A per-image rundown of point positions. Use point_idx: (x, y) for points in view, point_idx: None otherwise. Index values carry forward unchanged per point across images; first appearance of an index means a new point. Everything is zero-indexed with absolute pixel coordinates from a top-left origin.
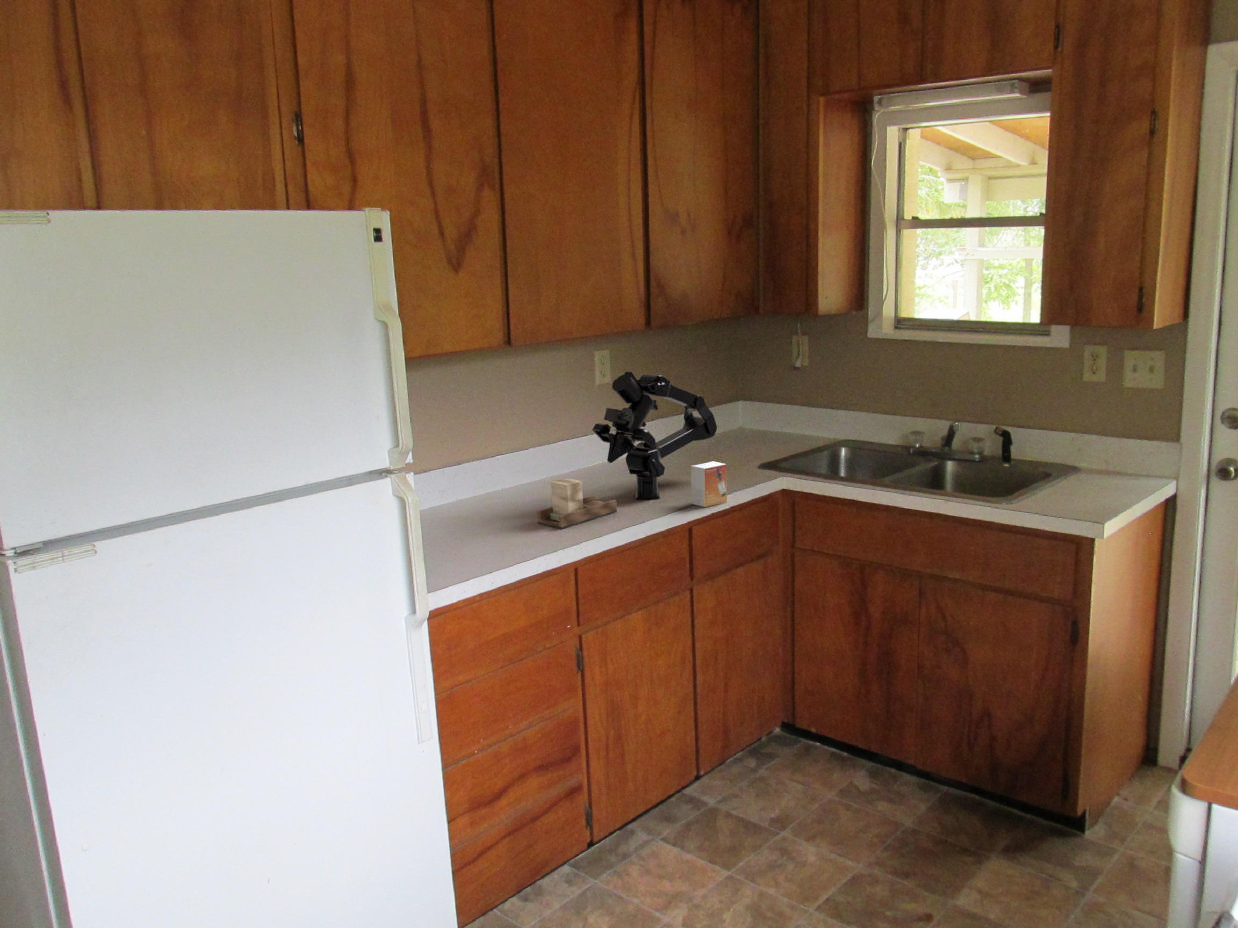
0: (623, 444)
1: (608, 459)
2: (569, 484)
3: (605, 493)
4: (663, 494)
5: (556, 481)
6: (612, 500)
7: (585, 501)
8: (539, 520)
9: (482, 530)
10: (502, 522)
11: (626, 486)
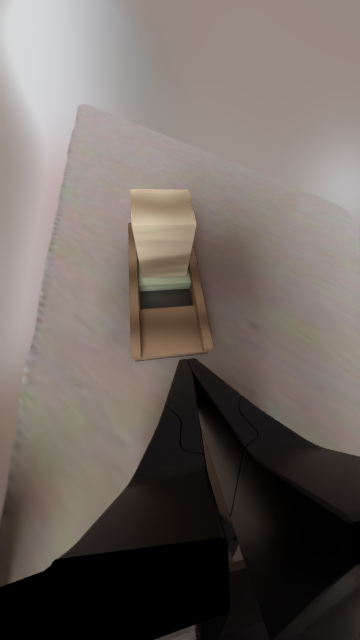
0: (173, 549)
1: (189, 361)
2: (131, 194)
3: None
4: None
5: (183, 196)
6: (137, 349)
7: (198, 322)
8: None
9: (210, 190)
10: (226, 218)
11: None
